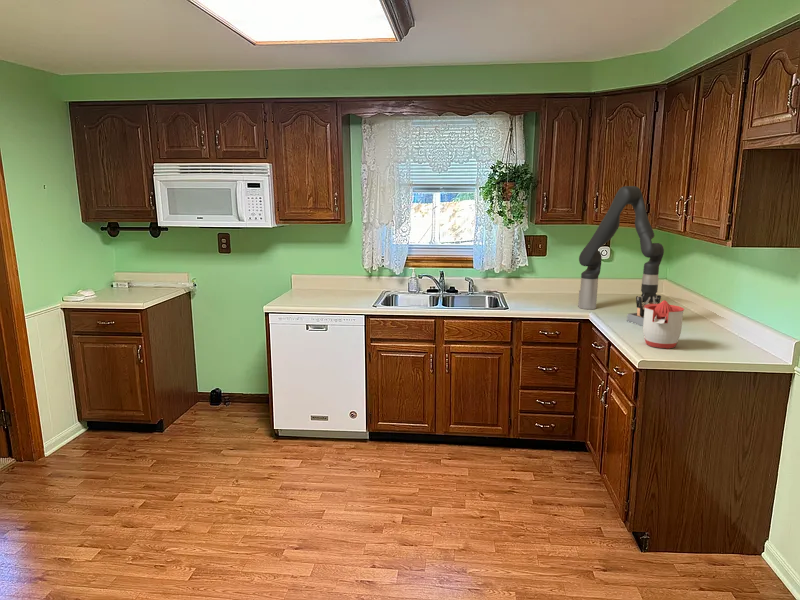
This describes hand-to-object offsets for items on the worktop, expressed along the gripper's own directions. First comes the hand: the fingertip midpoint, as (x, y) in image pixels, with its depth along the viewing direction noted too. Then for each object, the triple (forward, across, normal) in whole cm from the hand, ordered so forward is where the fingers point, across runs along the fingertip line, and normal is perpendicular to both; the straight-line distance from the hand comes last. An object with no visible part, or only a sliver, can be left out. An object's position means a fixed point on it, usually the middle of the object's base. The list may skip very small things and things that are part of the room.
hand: (646, 315), depth 284 cm
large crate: (+4, 0, 0) cm, 4 cm away
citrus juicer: (+4, +26, +36) cm, 45 cm away
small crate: (0, 0, 0) cm, 0 cm away
